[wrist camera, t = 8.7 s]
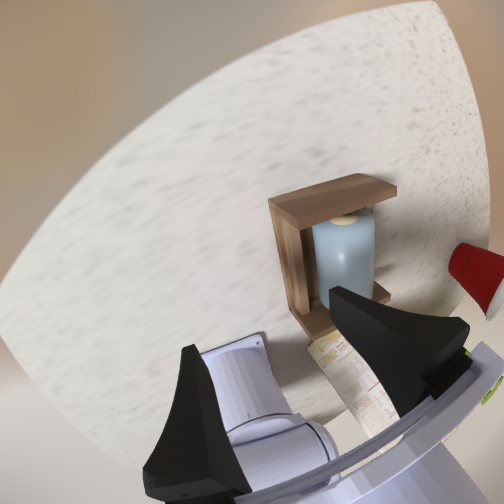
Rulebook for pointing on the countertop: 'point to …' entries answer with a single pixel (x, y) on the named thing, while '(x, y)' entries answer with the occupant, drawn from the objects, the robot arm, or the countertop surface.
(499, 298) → the plastic cup
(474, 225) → the countertop surface
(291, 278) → the holder
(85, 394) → the countertop surface
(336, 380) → the coffeecake box
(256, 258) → the countertop surface
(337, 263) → the roll
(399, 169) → the countertop surface
